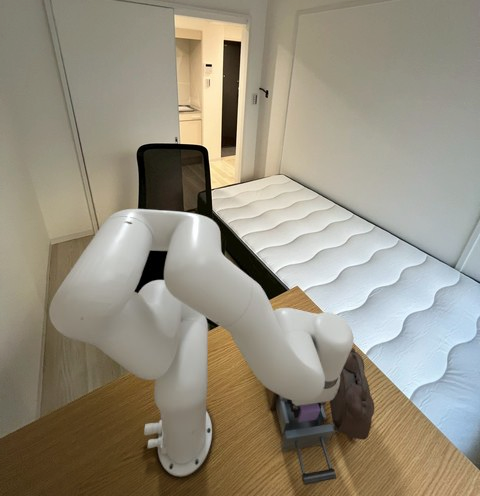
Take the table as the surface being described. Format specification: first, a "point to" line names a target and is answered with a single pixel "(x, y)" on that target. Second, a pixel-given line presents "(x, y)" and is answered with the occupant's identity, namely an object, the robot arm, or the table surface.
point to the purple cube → (308, 412)
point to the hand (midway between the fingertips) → (304, 407)
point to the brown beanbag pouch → (353, 400)
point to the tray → (305, 438)
